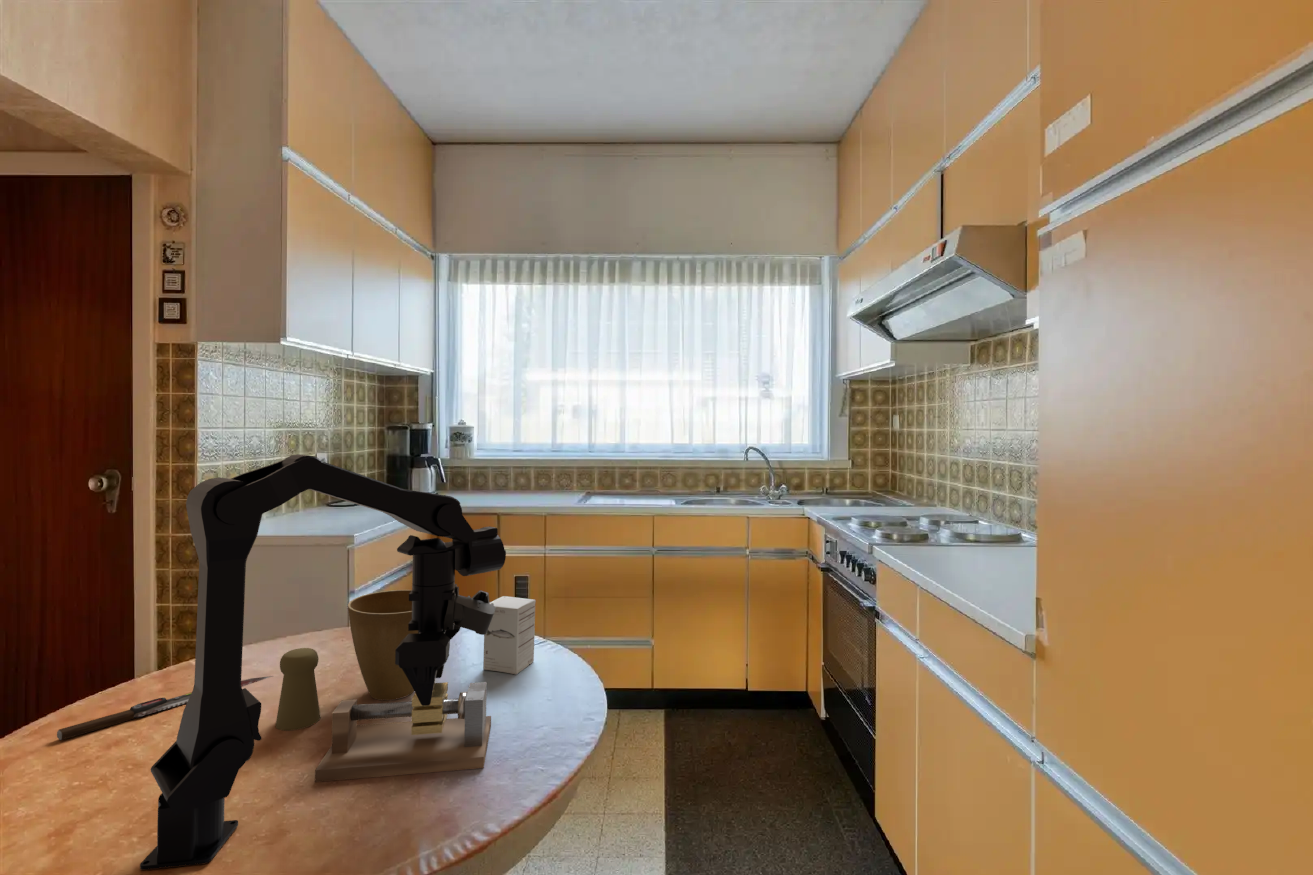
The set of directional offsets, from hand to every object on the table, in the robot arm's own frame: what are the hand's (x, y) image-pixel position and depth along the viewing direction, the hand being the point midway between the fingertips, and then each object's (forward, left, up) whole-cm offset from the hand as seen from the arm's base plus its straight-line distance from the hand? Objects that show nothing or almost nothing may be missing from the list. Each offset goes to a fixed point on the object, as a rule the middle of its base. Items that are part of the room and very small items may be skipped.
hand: (432, 690), depth 86 cm
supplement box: (+30, -9, -9) cm, 32 cm away
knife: (+22, +43, -9) cm, 49 cm away
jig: (0, +3, -8) cm, 9 cm away
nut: (0, 0, -5) cm, 5 cm away
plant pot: (+21, +10, -9) cm, 25 cm away
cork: (+12, +22, -9) cm, 26 cm away
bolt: (0, +2, -7) cm, 7 cm away
